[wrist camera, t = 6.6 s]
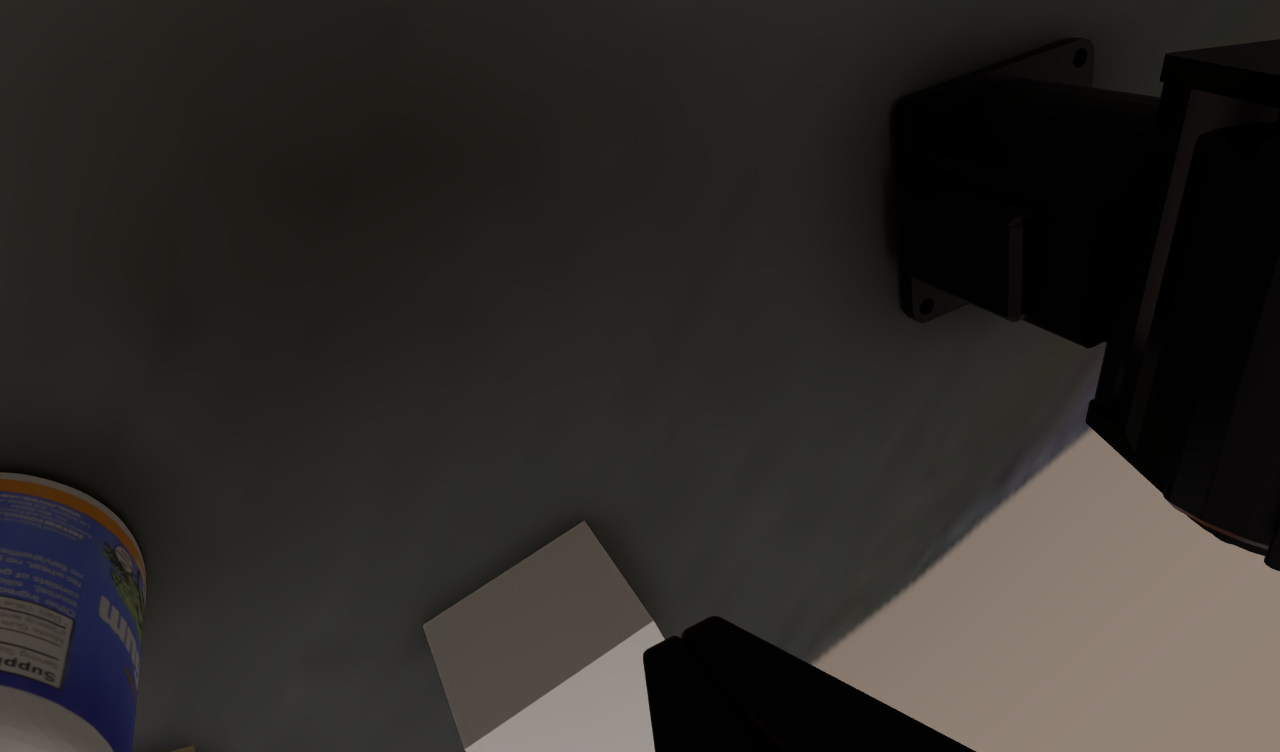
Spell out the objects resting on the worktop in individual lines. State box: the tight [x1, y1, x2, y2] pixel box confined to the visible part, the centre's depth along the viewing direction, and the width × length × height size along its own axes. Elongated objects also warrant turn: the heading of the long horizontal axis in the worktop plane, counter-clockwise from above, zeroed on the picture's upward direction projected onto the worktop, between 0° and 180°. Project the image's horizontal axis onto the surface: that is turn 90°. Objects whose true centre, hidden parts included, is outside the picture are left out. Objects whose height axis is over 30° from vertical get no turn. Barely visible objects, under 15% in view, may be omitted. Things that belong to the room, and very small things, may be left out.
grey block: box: [423, 521, 664, 752], centre depth 23 cm, size 5×5×4 cm
